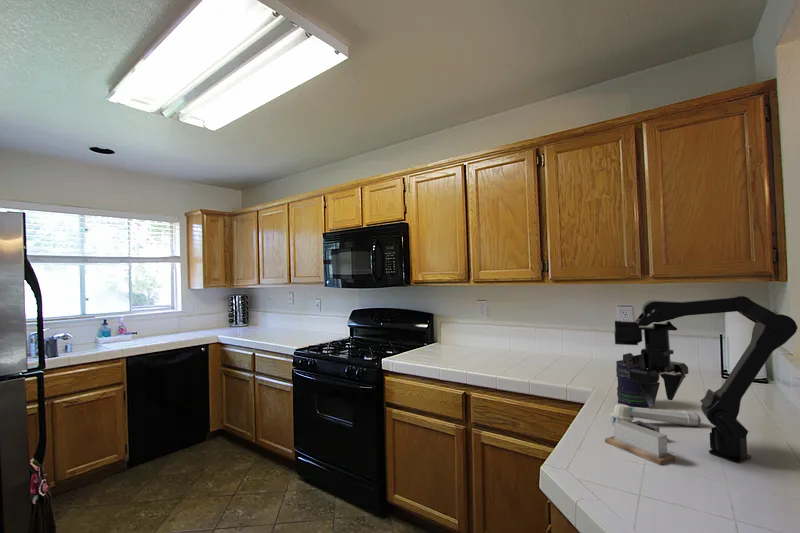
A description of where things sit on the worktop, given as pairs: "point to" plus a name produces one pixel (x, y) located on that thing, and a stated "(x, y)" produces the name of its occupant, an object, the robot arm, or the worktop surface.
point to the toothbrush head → (655, 415)
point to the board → (640, 452)
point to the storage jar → (629, 388)
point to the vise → (646, 425)
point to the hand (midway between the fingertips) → (660, 402)
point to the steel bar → (641, 438)
